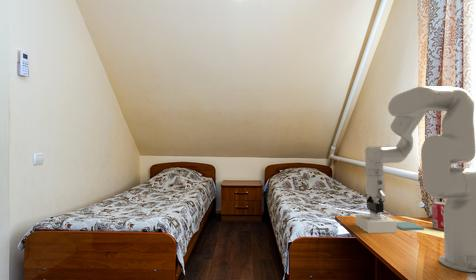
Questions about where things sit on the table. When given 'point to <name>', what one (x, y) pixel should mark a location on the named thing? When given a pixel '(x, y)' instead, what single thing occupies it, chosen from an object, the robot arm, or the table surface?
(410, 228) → the pad
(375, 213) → the handwheel peg
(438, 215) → the soda can
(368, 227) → the block
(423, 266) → the table surface
